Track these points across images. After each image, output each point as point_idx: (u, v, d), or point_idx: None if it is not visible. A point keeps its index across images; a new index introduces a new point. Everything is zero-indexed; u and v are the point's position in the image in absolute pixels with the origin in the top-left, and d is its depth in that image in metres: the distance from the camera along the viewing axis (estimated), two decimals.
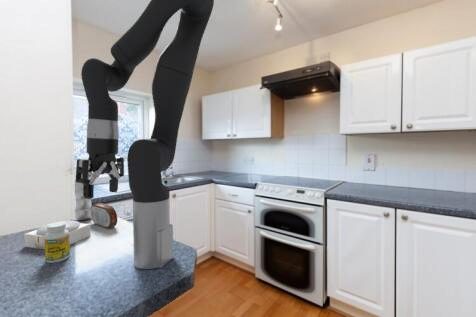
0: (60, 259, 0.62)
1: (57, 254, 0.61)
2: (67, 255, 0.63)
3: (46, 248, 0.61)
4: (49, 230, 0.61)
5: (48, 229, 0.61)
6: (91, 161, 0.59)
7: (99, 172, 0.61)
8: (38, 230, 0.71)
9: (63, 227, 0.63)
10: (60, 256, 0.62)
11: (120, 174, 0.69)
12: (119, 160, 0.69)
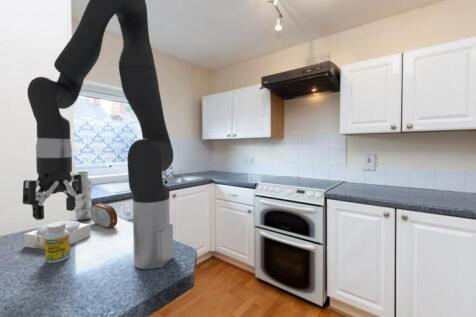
0: (60, 259, 0.62)
1: (57, 254, 0.61)
2: (67, 255, 0.63)
3: (46, 248, 0.61)
4: (49, 230, 0.61)
5: (48, 229, 0.61)
6: (40, 181, 0.58)
7: (50, 192, 0.59)
8: (38, 230, 0.71)
9: (63, 227, 0.63)
10: (60, 256, 0.62)
11: (78, 192, 0.68)
12: (76, 177, 0.68)
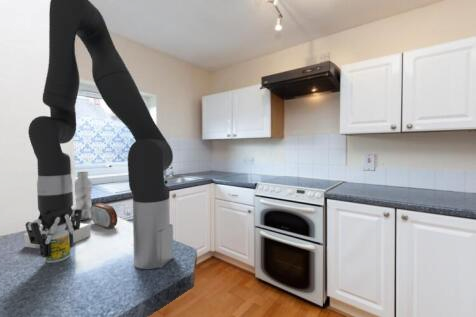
0: (60, 259, 0.62)
1: (57, 254, 0.61)
2: (67, 255, 0.63)
3: None
4: None
5: (48, 229, 0.61)
6: (41, 220, 0.58)
7: (54, 229, 0.61)
8: None
9: (63, 227, 0.63)
10: (60, 255, 0.62)
11: (75, 227, 0.67)
12: (76, 212, 0.68)
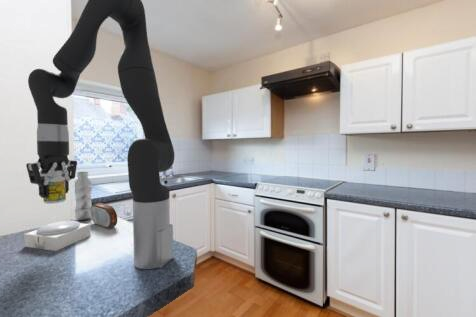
0: (57, 201, 0.68)
1: (54, 195, 0.68)
2: (63, 198, 0.70)
3: None
4: None
5: (46, 173, 0.68)
6: (40, 163, 0.65)
7: (52, 173, 0.67)
8: (38, 230, 0.71)
9: (60, 173, 0.69)
10: (56, 197, 0.68)
11: (71, 176, 0.74)
12: (72, 163, 0.75)
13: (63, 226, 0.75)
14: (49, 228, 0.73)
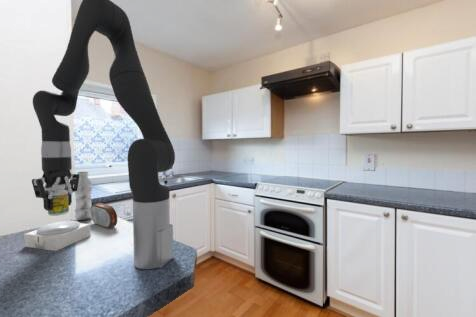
0: (60, 213, 0.73)
1: (57, 208, 0.72)
2: (66, 210, 0.74)
3: None
4: None
5: (50, 187, 0.72)
6: (45, 178, 0.70)
7: (55, 187, 0.72)
8: (38, 230, 0.71)
9: (63, 186, 0.74)
10: (60, 210, 0.73)
11: (73, 189, 0.79)
12: (74, 176, 0.79)
13: (63, 226, 0.75)
14: (49, 228, 0.73)
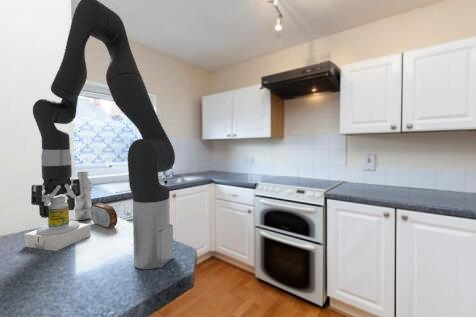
0: (60, 226, 0.73)
1: (58, 221, 0.72)
2: (66, 223, 0.75)
3: (49, 216, 0.72)
4: (51, 201, 0.72)
5: (50, 200, 0.72)
6: (45, 185, 0.70)
7: (54, 194, 0.71)
8: (38, 230, 0.71)
9: (63, 199, 0.74)
10: (60, 223, 0.73)
11: (76, 194, 0.80)
12: (75, 182, 0.79)
13: None
14: (49, 228, 0.73)
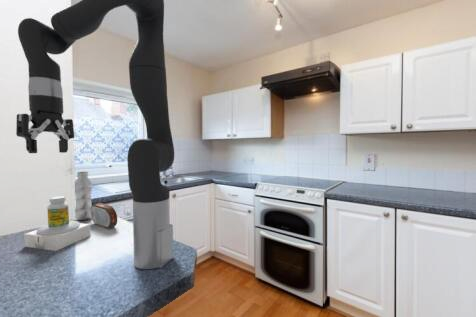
0: (60, 226, 0.73)
1: (58, 221, 0.72)
2: (66, 223, 0.75)
3: (49, 216, 0.72)
4: (51, 201, 0.72)
5: (50, 200, 0.72)
6: (32, 117, 0.62)
7: (42, 128, 0.63)
8: (38, 230, 0.71)
9: (63, 199, 0.74)
10: (60, 223, 0.73)
11: (70, 135, 0.72)
12: (67, 122, 0.71)
13: None
14: (49, 228, 0.73)
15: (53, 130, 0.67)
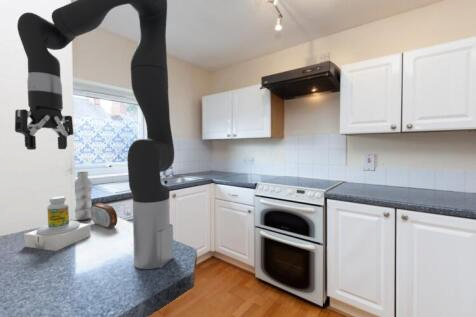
0: (60, 226, 0.73)
1: (58, 221, 0.72)
2: (66, 223, 0.75)
3: (49, 216, 0.72)
4: (51, 201, 0.72)
5: (50, 200, 0.72)
6: (31, 113, 0.61)
7: (41, 124, 0.63)
8: (38, 230, 0.71)
9: (63, 199, 0.74)
10: (60, 223, 0.73)
11: (69, 132, 0.71)
12: (67, 118, 0.71)
13: None
14: (49, 228, 0.73)
15: (52, 126, 0.66)
